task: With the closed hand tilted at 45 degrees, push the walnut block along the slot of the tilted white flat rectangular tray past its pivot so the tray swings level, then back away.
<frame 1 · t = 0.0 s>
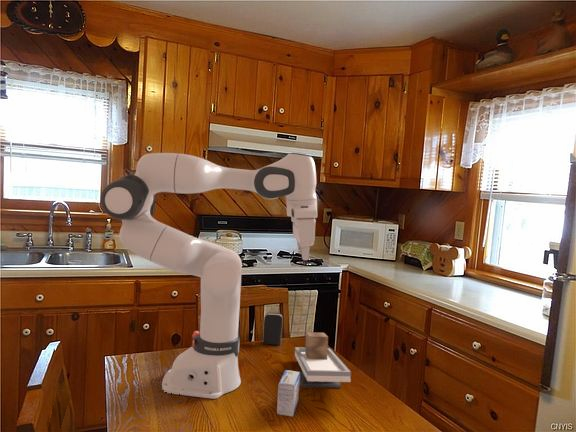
hand: (303, 256, 118), 39 cm above the table, tool pointing down, fingers open, 8 cm apart
walnut block: (315, 356, 131), point 4 cm above the table, tilted 11°, touching white flat rectangular tray
medicine box: (287, 408, 108), on the table
white flat rectangular tray: (319, 362, 124), point 6 cm above the table, hinge at -10.6°, touching walnut block
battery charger: (271, 343, 151), on the table
pivot stand: (318, 380, 124), on the table
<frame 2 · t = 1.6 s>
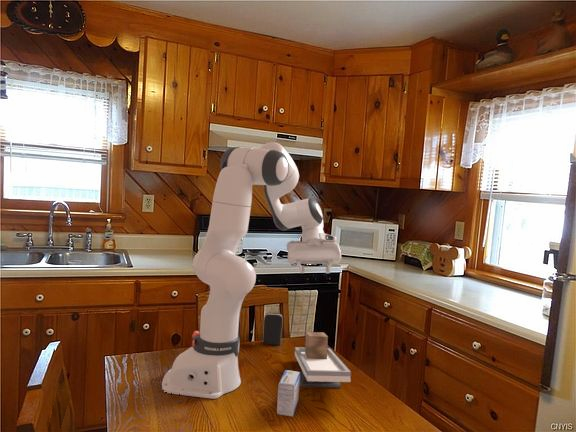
hand: (315, 272, 148), 28 cm above the table, tool tilted 45°, fingers open, 8 cm apart
nothing on the table moved.
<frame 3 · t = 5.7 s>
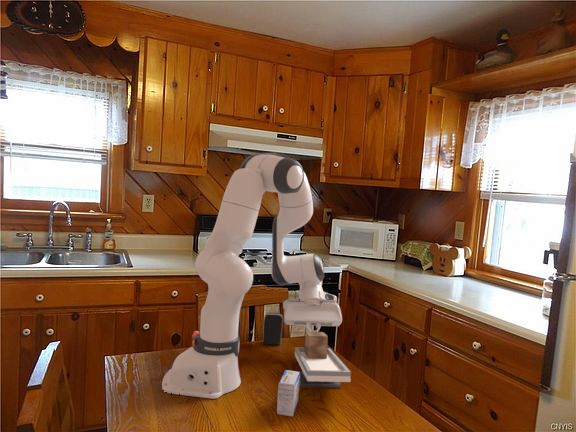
hand: (313, 336, 136), 9 cm above the table, tool tilted 45°, fingers closed, pressing on walnut block
walnut block: (315, 355, 132), point 4 cm above the table, tilted 11°, touching gripper, white flat rectangular tray
everything else where it was.
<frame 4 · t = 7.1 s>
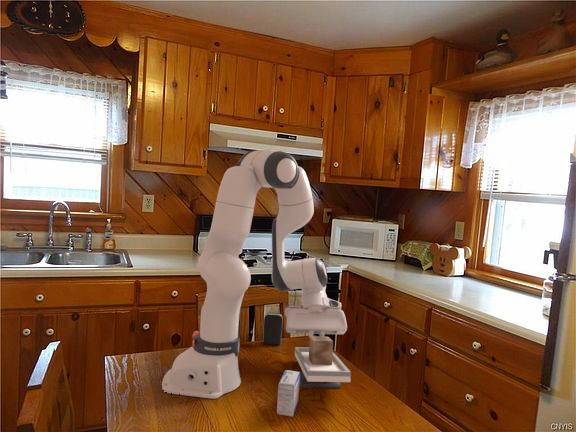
hand: (317, 345, 129), 9 cm above the table, tool tilted 45°, fingers closed, pressing on walnut block
walnut block: (320, 361, 125), point 6 cm above the table, tilted 10°, touching gripper, white flat rectangular tray
everything else where it was.
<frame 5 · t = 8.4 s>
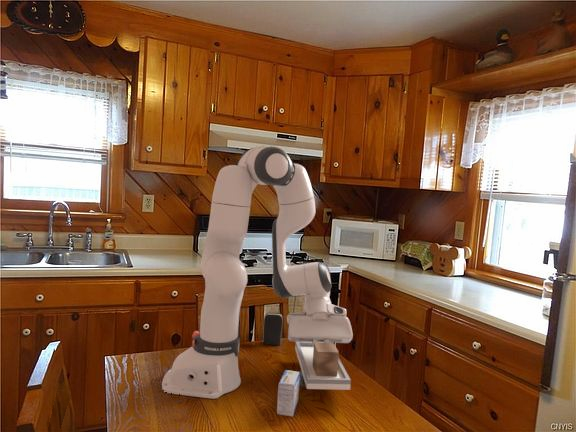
hand: (321, 355, 122), 9 cm above the table, tool tilted 45°, fingers closed
walnut block: (324, 370, 118), point 6 cm above the table, touching gripper, white flat rectangular tray
white flat rectangular tray: (320, 363, 124), point 6 cm above the table, hinge at -2.1°, touching walnut block
everything else where it was.
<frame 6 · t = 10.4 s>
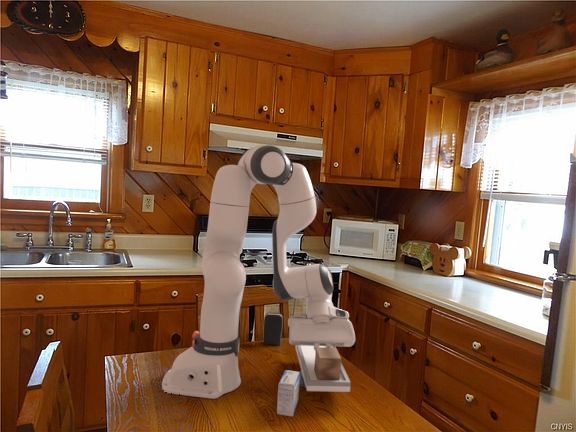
hand: (323, 359, 119), 9 cm above the table, tool tilted 45°, fingers closed
walnut block: (326, 376, 115), point 6 cm above the table, touching gripper, white flat rectangular tray
white flat rectangular tray: (320, 363, 124), point 6 cm above the table, hinge at 0.4°, touching walnut block
everything else where it was.
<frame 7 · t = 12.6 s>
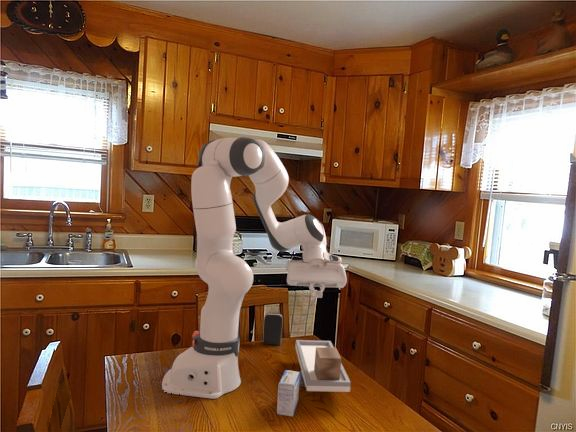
hand: (317, 296, 132), 23 cm above the table, tool tilted 45°, fingers closed
walnut block: (326, 376, 115), point 6 cm above the table, touching white flat rectangular tray
everything else where it was.
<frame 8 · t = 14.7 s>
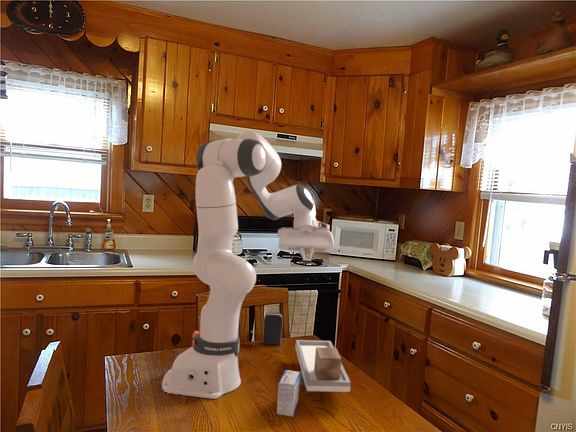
hand: (307, 259, 142), 33 cm above the table, tool tilted 45°, fingers closed
nothing on the table moved.
at the end: white flat rectangular tray at +0° (first picture: -11°); walnut block inside the target area (1.3 cm from its centre), point 5.7 cm above the table; walnut block tilted 0° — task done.
